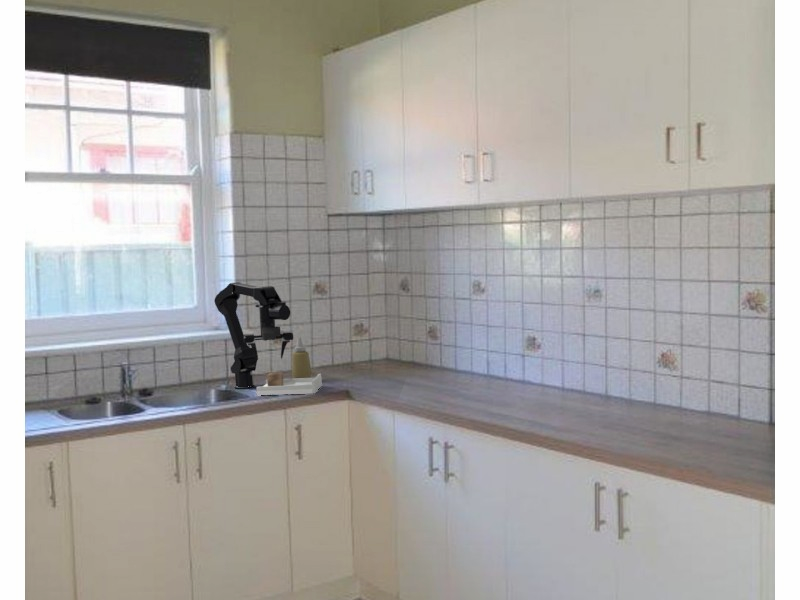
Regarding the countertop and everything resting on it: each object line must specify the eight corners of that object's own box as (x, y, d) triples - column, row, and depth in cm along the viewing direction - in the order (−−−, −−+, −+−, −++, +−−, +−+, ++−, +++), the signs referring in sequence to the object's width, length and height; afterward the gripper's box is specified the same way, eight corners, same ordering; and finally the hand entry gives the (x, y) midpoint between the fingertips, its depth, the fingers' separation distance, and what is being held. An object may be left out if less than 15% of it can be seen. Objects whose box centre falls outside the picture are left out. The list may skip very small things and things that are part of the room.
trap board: (257, 396, 325) (256, 383, 325) (266, 388, 341) (265, 375, 340) (315, 394, 323) (314, 380, 323) (322, 386, 339) (321, 373, 339)
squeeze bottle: (310, 383, 347) (308, 338, 346) (290, 384, 347) (288, 339, 346) (313, 379, 355) (310, 336, 354) (293, 380, 356) (291, 337, 354)
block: (267, 388, 330) (267, 375, 330) (270, 385, 335) (270, 372, 335) (280, 387, 330) (280, 374, 329) (283, 385, 335) (282, 372, 334)
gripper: (243, 322, 323) (245, 364, 325) (293, 319, 327) (295, 360, 328) (242, 319, 334) (244, 359, 336) (291, 316, 338) (293, 356, 339)
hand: (269, 359), depth 335 cm, fingers open, 9 cm apart
